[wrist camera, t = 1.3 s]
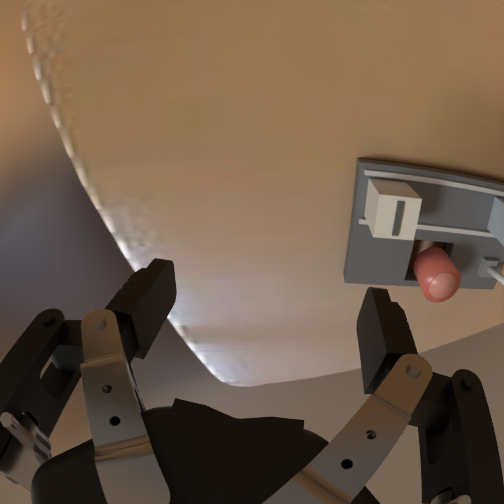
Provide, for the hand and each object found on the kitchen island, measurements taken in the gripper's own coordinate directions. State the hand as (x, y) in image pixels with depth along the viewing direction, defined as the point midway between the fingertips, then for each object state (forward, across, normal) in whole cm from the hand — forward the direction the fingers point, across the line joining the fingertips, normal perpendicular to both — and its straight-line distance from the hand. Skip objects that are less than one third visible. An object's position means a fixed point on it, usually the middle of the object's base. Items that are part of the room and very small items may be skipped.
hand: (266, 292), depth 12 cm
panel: (+21, -18, +4) cm, 28 cm away
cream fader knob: (+19, -10, +1) cm, 22 cm away
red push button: (+19, -18, +8) cm, 27 cm away
